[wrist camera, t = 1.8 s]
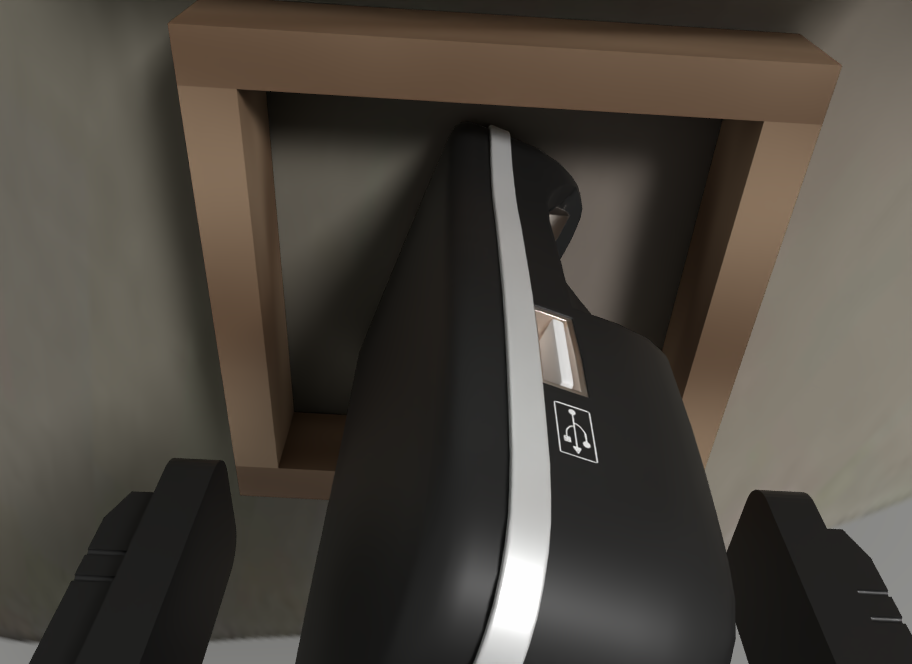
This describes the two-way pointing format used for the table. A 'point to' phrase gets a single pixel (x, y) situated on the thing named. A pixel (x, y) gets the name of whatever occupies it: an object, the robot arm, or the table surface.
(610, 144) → the table surface
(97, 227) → the table surface
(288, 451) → the brown flat square frame
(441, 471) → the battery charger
